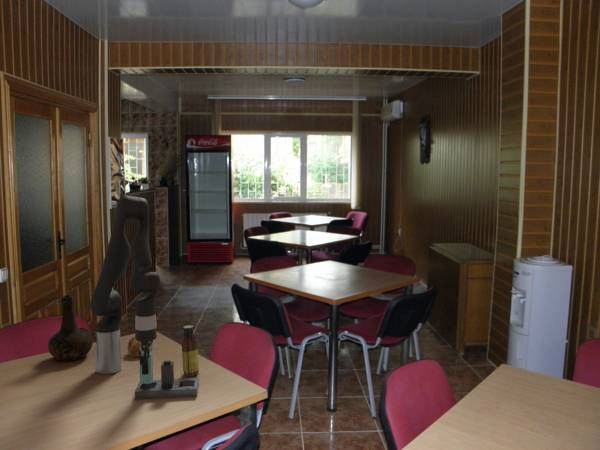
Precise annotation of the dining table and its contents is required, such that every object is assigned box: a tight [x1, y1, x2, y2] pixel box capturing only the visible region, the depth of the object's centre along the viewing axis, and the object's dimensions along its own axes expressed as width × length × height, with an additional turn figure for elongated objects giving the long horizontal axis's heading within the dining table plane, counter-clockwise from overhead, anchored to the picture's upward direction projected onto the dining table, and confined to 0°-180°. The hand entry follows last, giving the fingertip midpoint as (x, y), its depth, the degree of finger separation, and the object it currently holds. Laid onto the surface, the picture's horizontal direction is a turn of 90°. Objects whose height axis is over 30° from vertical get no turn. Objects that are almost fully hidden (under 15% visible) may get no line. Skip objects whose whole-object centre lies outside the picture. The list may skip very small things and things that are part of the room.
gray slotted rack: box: [134, 359, 200, 401], centre depth 187 cm, size 22×10×12 cm, turn 97°
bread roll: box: [127, 335, 141, 358], centre depth 230 cm, size 10×15×8 cm, turn 173°
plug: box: [139, 350, 154, 384], centre depth 186 cm, size 4×4×12 cm
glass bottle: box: [47, 294, 94, 362], centre depth 222 cm, size 18×18×28 cm
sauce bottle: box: [181, 324, 200, 377], centre depth 204 cm, size 7×6×20 cm
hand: (146, 371), depth 186 cm, fingers closed on plug, 4 cm apart
